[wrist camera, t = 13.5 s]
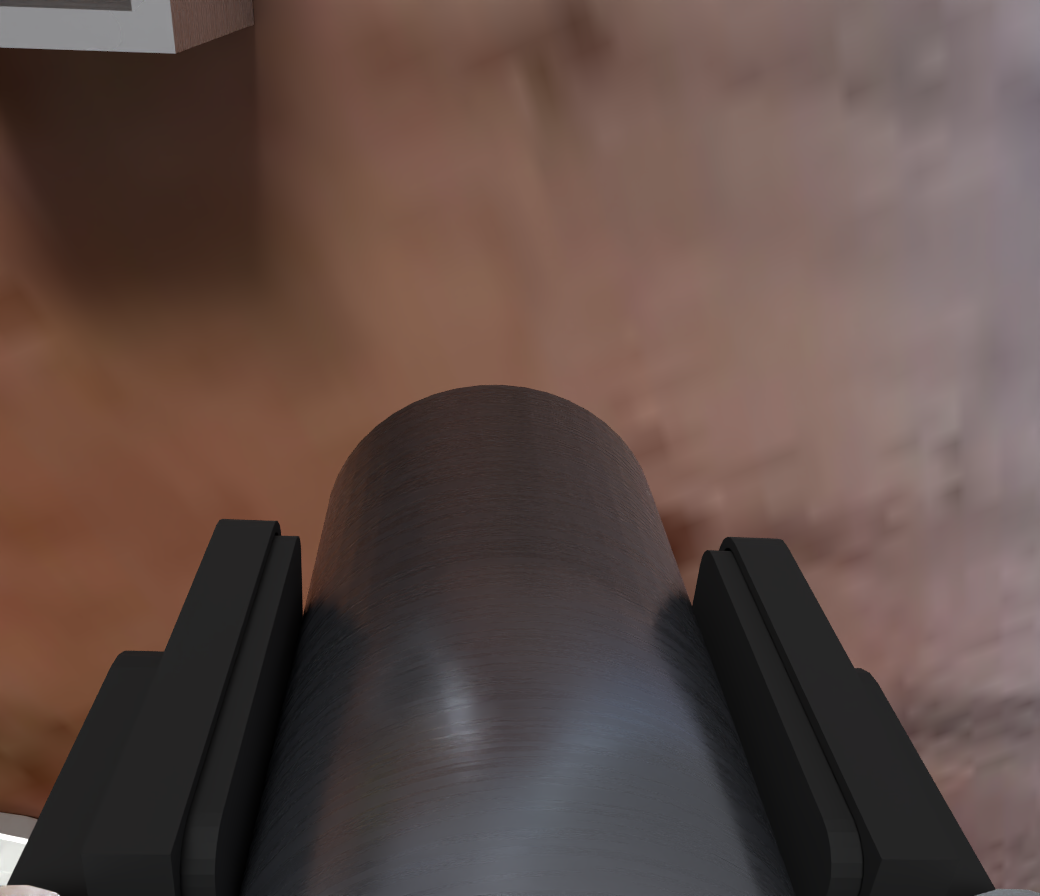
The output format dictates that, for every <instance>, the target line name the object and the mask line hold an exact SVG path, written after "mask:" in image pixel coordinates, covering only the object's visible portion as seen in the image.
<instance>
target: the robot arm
mask: <svg viewBox="0 0 1040 896" xmlns="http://www.w3.org/2000/svg"><path fill="white" fill-rule="evenodd" d="M692 608H693V611H694V614H695V616H696V619H697V622H698V625H699V627H700V630H701V633H702V636H703V639H704V641H705V644H706V647H707V650H708V653H709V655H710V658H711V661H712V664H713V667H714V669H715V672H716V675H717V678H718V681H719V683H720V686H721V689H722V692H723V694H724V697H725V700H726V703H727V706H728V708H729V711H730V714H731V717H732V720H733V722H734V725H735V728H736V731H737V734H738V736H739V739H740V742H741V745H742V748H743V750H744V753H745V756H746V759H747V761H748V764H749V767H750V770H751V773H752V775H753V778H754V781H755V784H756V787H757V789H758V792H759V795H760V798H761V801H762V803H763V806H764V809H765V812H766V815H767V817H768V820H769V823H770V826H771V828H772V831H773V834H774V837H775V840H776V842H777V845H778V848H779V851H780V854H781V856H782V859H783V862H784V865H785V868H786V870H787V873H788V876H789V879H790V881H791V884H792V887H793V890H794V893H795V895H796V896H1040V893H1037V892H1033V891H1029V890H1017V889H995V887H994V886H993V884H992V882H991V880H990V879H989V877H988V875H987V873H986V872H985V870H984V868H983V866H982V865H981V863H980V861H979V859H978V858H977V856H976V854H975V852H974V851H973V849H972V847H971V845H970V844H969V842H968V840H967V838H966V837H965V835H964V833H963V831H962V830H961V828H960V826H959V824H958V823H957V821H956V819H955V817H954V816H953V814H952V812H951V810H950V809H949V807H948V805H947V803H946V802H945V800H944V798H943V796H942V795H941V793H940V791H939V789H938V788H937V786H936V784H935V782H934V781H933V779H932V777H931V775H930V774H929V772H928V770H927V768H926V767H925V765H924V763H923V761H922V760H921V758H920V756H919V754H918V753H917V751H916V749H915V747H914V746H913V744H912V742H911V740H910V739H909V737H908V735H907V733H906V732H905V730H904V728H903V726H902V725H901V723H900V721H899V719H898V718H897V716H896V714H895V712H894V711H893V709H892V707H891V705H890V704H889V702H888V700H887V698H886V697H885V695H884V693H883V691H882V690H881V688H880V686H879V684H878V683H877V682H876V680H875V679H874V678H873V677H872V675H871V674H870V673H869V672H867V671H865V670H863V669H861V668H854V667H853V665H852V663H851V661H850V659H849V658H848V656H847V654H846V652H845V650H844V648H843V647H842V645H841V643H840V641H839V639H838V638H837V636H836V634H835V632H834V630H833V629H832V627H831V625H830V623H829V621H828V619H827V618H826V616H825V614H824V612H823V610H822V609H821V607H820V605H819V603H818V601H817V599H816V598H815V596H814V594H813V592H812V590H811V589H810V587H809V585H808V583H807V581H806V579H805V578H804V576H803V574H802V572H801V570H800V569H799V567H798V565H797V563H796V561H795V560H794V558H793V556H792V554H791V552H790V550H789V549H788V547H787V545H786V544H785V543H784V541H783V540H781V539H770V538H742V537H727V538H725V539H724V540H723V542H722V544H721V546H720V549H719V551H714V550H707V551H706V552H704V554H703V556H702V560H701V564H700V569H699V574H698V579H697V584H696V590H695V595H694V600H693V606H692ZM302 618H303V608H302V570H301V543H300V538H299V536H281V530H280V525H279V523H278V521H262V520H234V519H221V520H219V522H218V524H217V525H216V528H215V530H214V532H213V535H212V537H211V540H210V542H209V545H208V547H207V549H206V552H205V554H204V557H203V559H202V561H201V564H200V566H199V569H198V571H197V574H196V576H195V578H194V581H193V583H192V586H191V588H190V591H189V593H188V595H187V598H186V600H185V603H184V605H183V607H182V610H181V612H180V615H179V617H178V620H177V622H176V624H175V627H174V629H173V632H172V634H171V637H170V639H169V641H168V644H167V646H166V649H165V651H164V652H158V651H124V652H122V653H121V654H119V655H118V656H117V658H116V659H115V661H114V663H113V664H112V666H111V668H110V670H109V672H108V674H107V676H106V678H105V680H104V682H103V684H102V686H101V689H100V691H99V693H98V695H97V697H96V699H95V701H94V703H93V705H92V707H91V709H90V711H89V714H88V716H87V718H86V720H85V722H84V724H83V726H82V728H81V730H80V732H79V734H78V737H77V739H76V741H75V743H74V745H73V747H72V749H71V751H70V753H69V755H68V757H67V760H66V762H65V764H64V766H63V768H62V770H61V772H60V774H59V776H58V778H57V780H56V783H55V785H54V787H53V789H52V791H51V793H50V795H49V797H48V799H47V801H46V803H45V806H44V808H43V810H42V812H41V814H40V816H39V818H38V819H35V818H32V817H28V816H23V815H16V814H9V813H2V812H0V896H239V894H240V889H241V885H242V881H243V876H244V872H245V867H246V863H247V859H248V854H249V850H250V846H251V841H252V837H253V832H254V828H255V824H256V819H257V815H258V811H259V806H260V802H261V797H262V793H263V789H264V784H265V780H266V776H267V771H268V767H269V763H270V758H271V754H272V749H273V745H274V741H275V736H276V732H277V728H278V723H279V719H280V714H281V710H282V706H283V701H284V697H285V693H286V688H287V684H288V679H289V675H290V671H291V666H292V662H293V658H294V653H295V649H296V644H297V640H298V636H299V631H300V627H301V623H302Z"/></svg>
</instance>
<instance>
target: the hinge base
mask: <svg viewBox="0 0 1040 896" xmlns="http://www.w3.org/2000/svg"><path fill="white" fill-rule="evenodd" d="M251 25H254V14H253V1H252V0H0V47H3V48H32V49H60V50H89V51H117V52H146V53H174V54H176V53H178V52H181V51H184V50H187V49H189V48H192V47H195V46H197V45H200V44H203V43H205V42H208V41H211V40H213V39H216V38H219V37H221V36H224V35H227V34H230V33H232V32H235V31H238V30H240V29H243V28H246V27H248V26H251Z"/></svg>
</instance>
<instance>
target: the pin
mask: <svg viewBox="0 0 1040 896" xmlns="http://www.w3.org/2000/svg"><path fill="white" fill-rule="evenodd" d="M239 896H796V895H795V893H794V890H793V887H792V884H791V881H790V879H789V876H788V873H787V870H786V868H785V865H784V862H783V859H782V856H781V854H780V851H779V848H778V845H777V842H776V840H775V837H774V834H773V831H772V828H771V826H770V823H769V820H768V817H767V815H766V812H765V809H764V806H763V803H762V801H761V798H760V795H759V792H758V789H757V787H756V784H755V781H754V778H753V775H752V773H751V770H750V767H749V764H748V761H747V759H746V756H745V753H744V750H743V748H742V745H741V742H740V739H739V736H738V734H737V731H736V728H735V725H734V722H733V720H732V717H731V714H730V711H729V708H728V706H727V703H726V700H725V697H724V694H723V692H722V689H721V686H720V683H719V681H718V678H717V675H716V672H715V669H714V667H713V664H712V661H711V658H710V655H709V653H708V650H707V647H706V644H705V641H704V639H703V636H702V633H701V630H700V627H699V625H698V622H697V619H696V616H695V614H694V611H693V608H692V605H691V602H690V600H689V597H688V594H687V591H686V588H685V586H684V583H683V580H682V577H681V574H680V572H679V569H678V566H677V563H676V561H675V558H674V555H673V552H672V549H671V547H670V544H669V541H668V538H667V535H666V533H665V530H664V527H663V524H662V521H661V519H660V516H659V513H658V510H657V507H656V505H655V502H654V499H653V496H652V494H651V491H650V488H649V485H648V483H647V480H646V478H645V475H644V473H643V470H642V468H641V466H640V465H639V463H638V461H637V459H636V458H635V456H634V454H633V453H632V451H631V450H630V449H629V447H628V446H627V445H626V444H625V442H624V441H623V440H622V439H621V437H620V436H619V435H618V434H616V433H615V432H614V431H613V430H612V429H611V428H610V427H609V426H608V425H607V424H606V423H605V422H603V421H602V420H600V419H599V418H598V417H596V416H595V415H593V414H592V413H591V412H589V411H588V410H586V409H584V408H582V407H580V406H578V405H576V404H574V403H572V402H571V401H569V400H566V399H563V398H561V397H558V396H555V395H553V394H550V393H547V392H542V391H538V390H534V389H530V388H525V387H516V386H507V385H479V386H472V387H464V388H457V389H453V390H449V391H445V392H441V393H437V394H434V395H431V396H429V397H426V398H424V399H421V400H419V401H416V402H414V403H412V404H410V405H408V406H406V407H405V408H403V409H401V410H399V411H397V412H395V413H394V414H392V415H391V416H390V417H388V418H387V419H386V420H384V421H383V422H381V423H380V424H379V425H377V426H376V427H375V428H374V429H373V430H372V431H371V432H370V433H369V434H368V435H367V436H366V437H365V438H364V439H363V440H361V442H360V443H359V444H358V445H357V447H356V448H355V449H354V451H353V452H352V453H351V454H350V456H349V457H348V459H347V460H346V462H345V464H344V465H343V467H342V469H341V471H340V472H339V474H338V477H337V479H336V482H335V484H334V487H333V489H332V492H331V496H330V500H329V505H328V509H327V513H326V518H325V522H324V526H323V531H322V535H321V539H320V544H319V548H318V553H317V557H316V561H315V566H314V570H313V574H312V579H311V583H310V588H309V592H308V596H307V601H306V605H305V609H304V614H303V618H302V623H301V627H300V631H299V636H298V640H297V644H296V649H295V653H294V658H293V662H292V666H291V671H290V675H289V679H288V684H287V688H286V693H285V697H284V701H283V706H282V710H281V714H280V719H279V723H278V728H277V732H276V736H275V741H274V745H273V749H272V754H271V758H270V763H269V767H268V771H267V776H266V780H265V784H264V789H263V793H262V797H261V802H260V806H259V811H258V815H257V819H256V824H255V828H254V832H253V837H252V841H251V846H250V850H249V854H248V859H247V863H246V867H245V872H244V876H243V881H242V885H241V889H240V894H239Z"/></svg>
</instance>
